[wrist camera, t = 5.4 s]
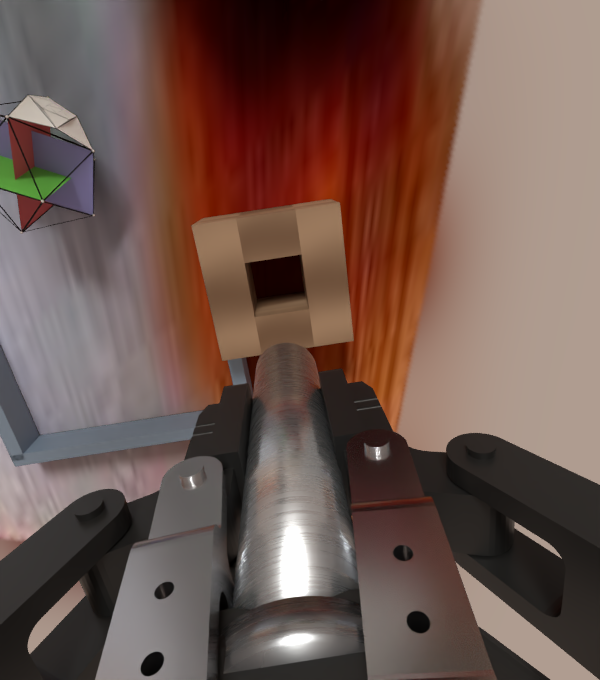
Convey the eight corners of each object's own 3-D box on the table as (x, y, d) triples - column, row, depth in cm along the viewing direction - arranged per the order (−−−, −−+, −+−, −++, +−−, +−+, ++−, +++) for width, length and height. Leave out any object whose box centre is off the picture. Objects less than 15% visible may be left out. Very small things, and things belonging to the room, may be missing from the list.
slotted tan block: (202, 218, 30) (191, 225, 25) (330, 198, 30) (339, 202, 25) (228, 337, 33) (222, 360, 29) (343, 319, 33) (353, 340, 29)
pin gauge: (240, 341, 15) (171, 664, 5) (319, 329, 15) (413, 626, 5) (255, 411, 16) (221, 798, 6) (329, 399, 16) (423, 767, 6)
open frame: (-21, 330, 31) (-44, 342, 29) (232, 291, 32) (229, 301, 29) (32, 447, 35) (15, 466, 33) (257, 412, 35) (256, 429, 33)
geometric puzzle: (88, 265, 28) (51, 197, 21) (-23, 234, 27) (-106, 150, 20) (124, 177, 30) (102, 86, 23) (22, 144, 29) (-37, 37, 22)
